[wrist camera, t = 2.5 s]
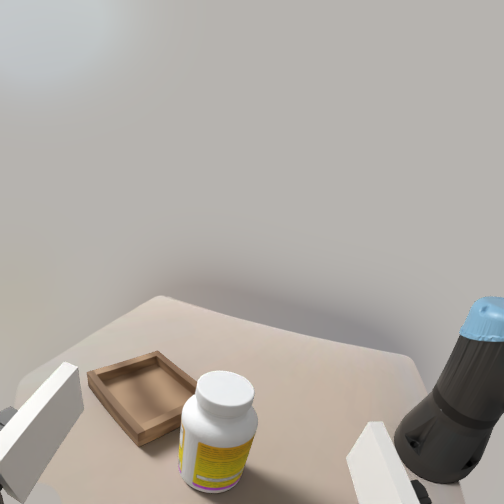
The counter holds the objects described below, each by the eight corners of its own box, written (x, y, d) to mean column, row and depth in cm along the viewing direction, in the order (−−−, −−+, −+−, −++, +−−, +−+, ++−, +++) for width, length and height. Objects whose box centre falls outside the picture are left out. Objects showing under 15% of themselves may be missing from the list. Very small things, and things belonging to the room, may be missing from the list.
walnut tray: (157, 363, 42) (157, 350, 41) (212, 408, 35) (215, 395, 35) (88, 386, 32) (86, 372, 32) (138, 447, 26) (137, 433, 25)
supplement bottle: (253, 477, 25) (284, 395, 22) (204, 505, 20) (222, 428, 18) (213, 441, 30) (230, 356, 27) (165, 462, 25) (168, 375, 22)
